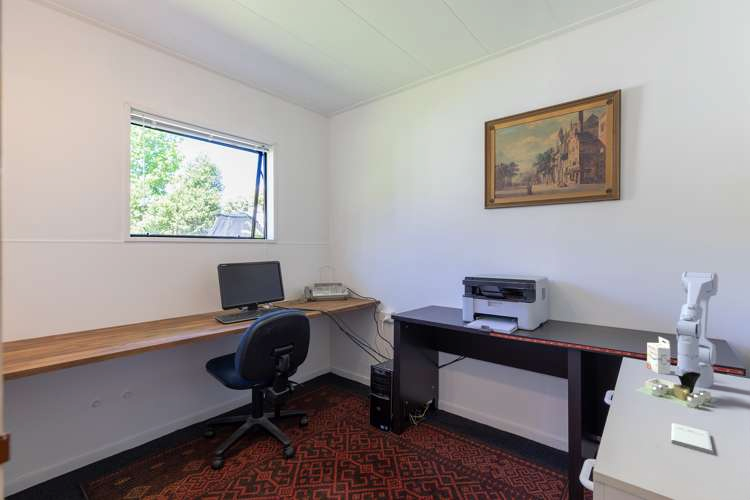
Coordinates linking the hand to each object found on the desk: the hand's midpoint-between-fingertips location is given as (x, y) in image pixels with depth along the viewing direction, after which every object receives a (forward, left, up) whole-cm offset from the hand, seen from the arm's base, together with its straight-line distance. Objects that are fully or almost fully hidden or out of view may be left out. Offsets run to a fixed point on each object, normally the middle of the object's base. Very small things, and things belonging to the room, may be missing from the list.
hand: (687, 392), depth 126 cm
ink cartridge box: (-21, -18, -2) cm, 28 cm away
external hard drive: (+34, +13, -2) cm, 37 cm away
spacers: (+5, 0, -1) cm, 5 cm away
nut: (+5, 0, -1) cm, 5 cm away
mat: (+3, -3, -2) cm, 5 cm away
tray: (0, -8, -1) cm, 8 cm away
